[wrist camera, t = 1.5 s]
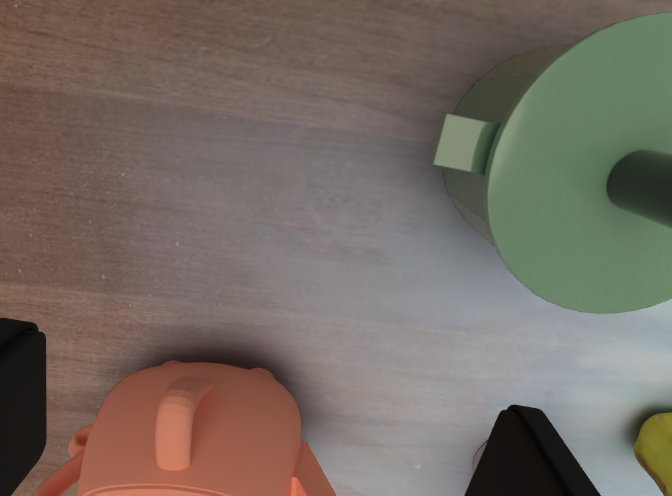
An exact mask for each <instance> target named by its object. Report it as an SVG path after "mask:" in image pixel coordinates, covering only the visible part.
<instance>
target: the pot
mask: <svg viewBox="0 0 672 496" xmlns="http://www.w3.org/2000/svg"><path fill="white" fill-rule="evenodd" d="M572 44H573V43H572ZM570 45H571V44H567V45H562V46H557V47H552V48H548V49H543V50H538V51H534V52H529V53H525V54H520V55H516V56H513V57H512V58H510V59H509V60H507V61H505V62H503V63H502V64H500V65H498V66H496V67H495V68H493V69H492V70H490V71H489V72H488V73H487V74H485V75H484V76H483V77H482V78H480V79H479V80H478V81H477V82H476V83H475V84H474V85H473V86H472V87H471V89H470V90H469V91H468V92H467V94H466V95H465V96H464V97H463V99H462V100H461V102H460V104H459V105H458V107H457V108H456V110H455V112H454V114H449V113H444V112H442V113H441V114H440V118H439V122H438V126H437V130H436V134H435V137H434V141H433V145H432V149H431V153H430V156H429V160H428V162H430V163H431V164H433V165H436V166H441V167H442V168H443V176H444V181H445V185H446V188H447V192H448V194H449V196H450V198H451V200H452V202H453V204H454V205H455V207H456V208H457V210H458V211H459V213H460V214H461V216H462V217H463V219H464V220H465V221H466V222H467V223H468V224H469V225H470V226H471V227H472V228H473V229H475V230H476V231H477V232H478V233H479V234H480V235H481V236H482V237H483V238H484V239H486V240H487V241H488V242H489V243H490V244H491V245H492V246H493V247H494V245H493V243H492V241H491V238H490V234H489V231H488V228H487V225H486V218H485V212H484V193H483V189H484V180H485V171H486V166H487V162H488V158H489V154H490V150H491V147H492V145H493V142H494V139H495V137H496V134H497V131H498V129H499V127H500V125H501V123H502V121H503V119H504V118H505V116H506V114H507V112H508V110H509V109H510V107H511V106H512V104H513V103H514V101H515V100H516V98H517V97H518V95H519V94H520V92H521V91H522V90H523V89H524V88H525V86H526V85H527V84H528V83H529V82H530V80H531V79H532V78H533V77H534V76H535V75H536V74H537V73H538V72H539V71H540V70H541V69H542V68H543V67H544V66H545V65H546V64H547V63H548V62H549V61H550V60H551V59H553V58H554V57H555V56H557V55H558V54H559V53H561V52H562V51H563V50H565V49H566V48H567V47H569V46H570ZM494 248H495V247H494Z"/></svg>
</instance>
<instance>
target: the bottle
mask: <svg viewBox="0 0 672 496" xmlns="http://www.w3.org/2000/svg"><path fill="white" fill-rule="evenodd" d="M634 454H635V456H636V459H637V461H638V462H639V464H640V465H641V466H642V467H643V468H644V470H645V471H646V472H647V473H648V474H649V475H650V476H651V478H652V479H653V480H654V481H655V482H656V484H657V485H658V487H659V488H660V490H661V492H662V493H663V495H664V496H672V412H671V413H659V414H655V415H653V416H652V417H650V418H649V419H648V420H646V421H645V422H644V423H643V424H642V426H641V429H640V432H639V436H638V438H637V440H636V443H635V446H634Z"/></svg>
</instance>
